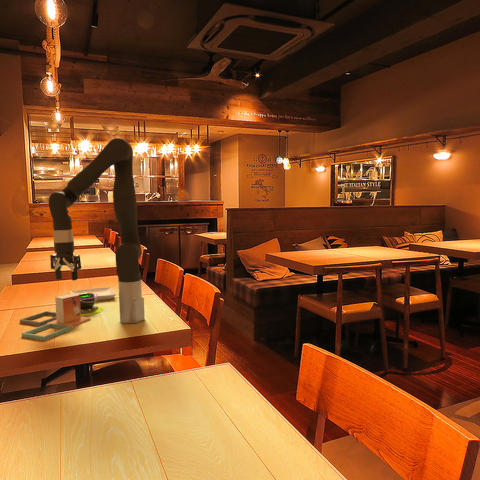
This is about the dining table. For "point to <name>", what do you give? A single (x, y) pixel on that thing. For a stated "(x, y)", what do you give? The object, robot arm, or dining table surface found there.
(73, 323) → the terracotta tile
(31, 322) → the grey rectangular frame
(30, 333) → the green rectangular frame
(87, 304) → the toy cauldron
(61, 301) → the small box
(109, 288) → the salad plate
